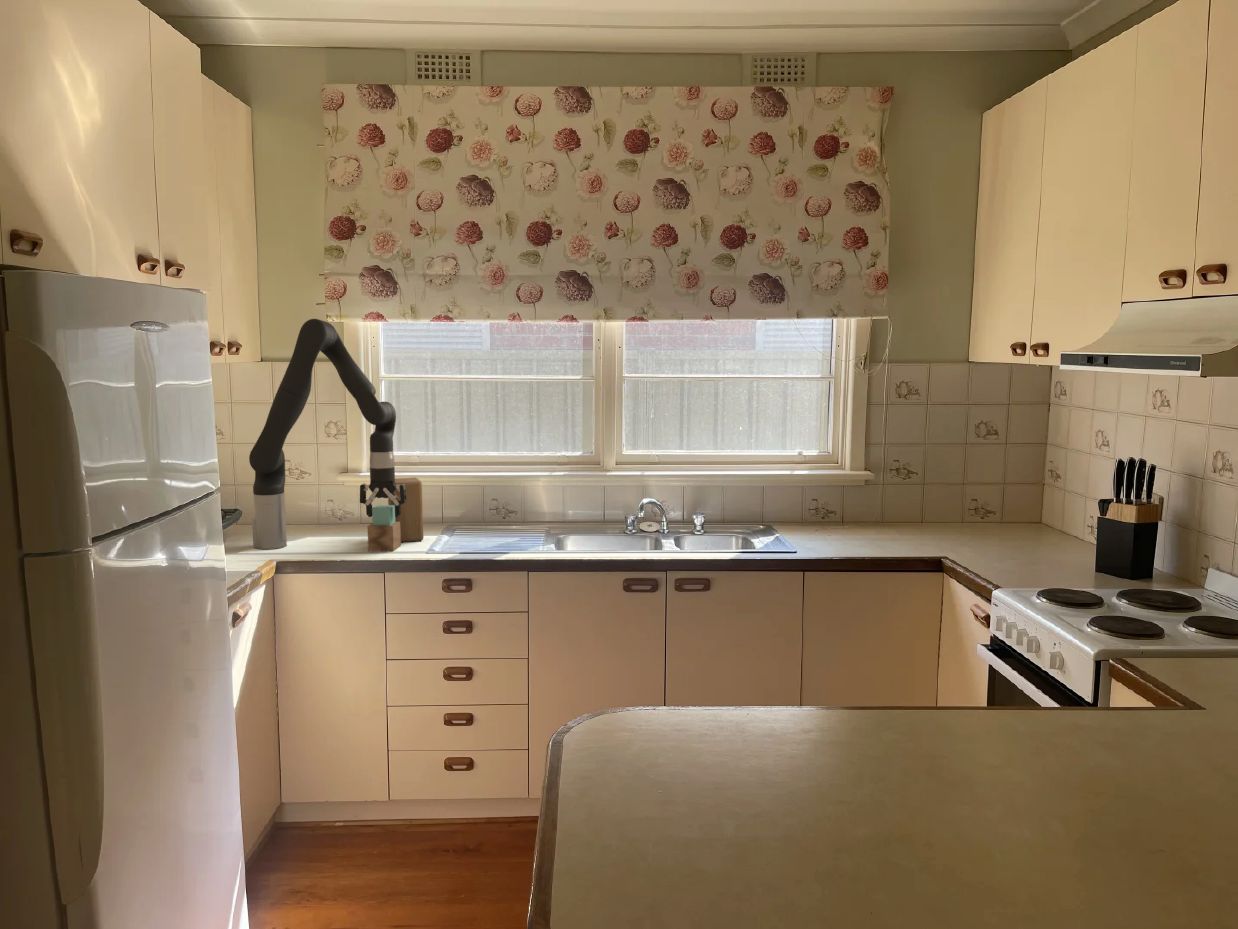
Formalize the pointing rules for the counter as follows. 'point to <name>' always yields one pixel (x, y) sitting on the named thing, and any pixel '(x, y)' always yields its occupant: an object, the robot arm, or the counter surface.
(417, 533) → the block
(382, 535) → the walnut block
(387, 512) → the teal cube
